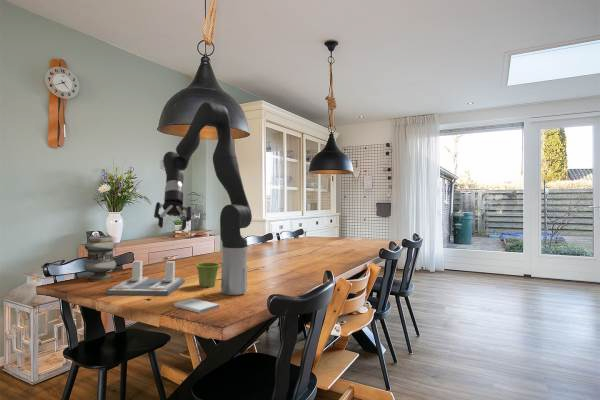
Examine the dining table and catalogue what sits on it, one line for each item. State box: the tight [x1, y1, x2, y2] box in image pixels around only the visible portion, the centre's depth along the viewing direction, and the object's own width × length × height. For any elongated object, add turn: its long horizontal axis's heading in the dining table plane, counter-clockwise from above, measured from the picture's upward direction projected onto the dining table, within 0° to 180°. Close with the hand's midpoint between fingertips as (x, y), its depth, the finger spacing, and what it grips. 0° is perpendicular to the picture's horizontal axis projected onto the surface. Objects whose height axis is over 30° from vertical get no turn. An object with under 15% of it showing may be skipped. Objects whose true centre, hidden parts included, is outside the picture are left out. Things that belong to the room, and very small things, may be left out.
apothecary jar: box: [83, 235, 117, 282], centre depth 155 cm, size 12×12×18 cm
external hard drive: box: [173, 297, 220, 314], centre depth 117 cm, size 2×8×12 cm
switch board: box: [105, 276, 186, 296], centre depth 140 cm, size 22×21×2 cm
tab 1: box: [130, 260, 144, 281], centre depth 145 cm, size 3×4×8 cm
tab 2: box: [163, 260, 176, 282], centre depth 145 cm, size 3×4×8 cm
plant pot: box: [195, 262, 221, 288], centre depth 146 cm, size 9×9×9 cm
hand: (172, 228), depth 146 cm, fingers open, 8 cm apart
